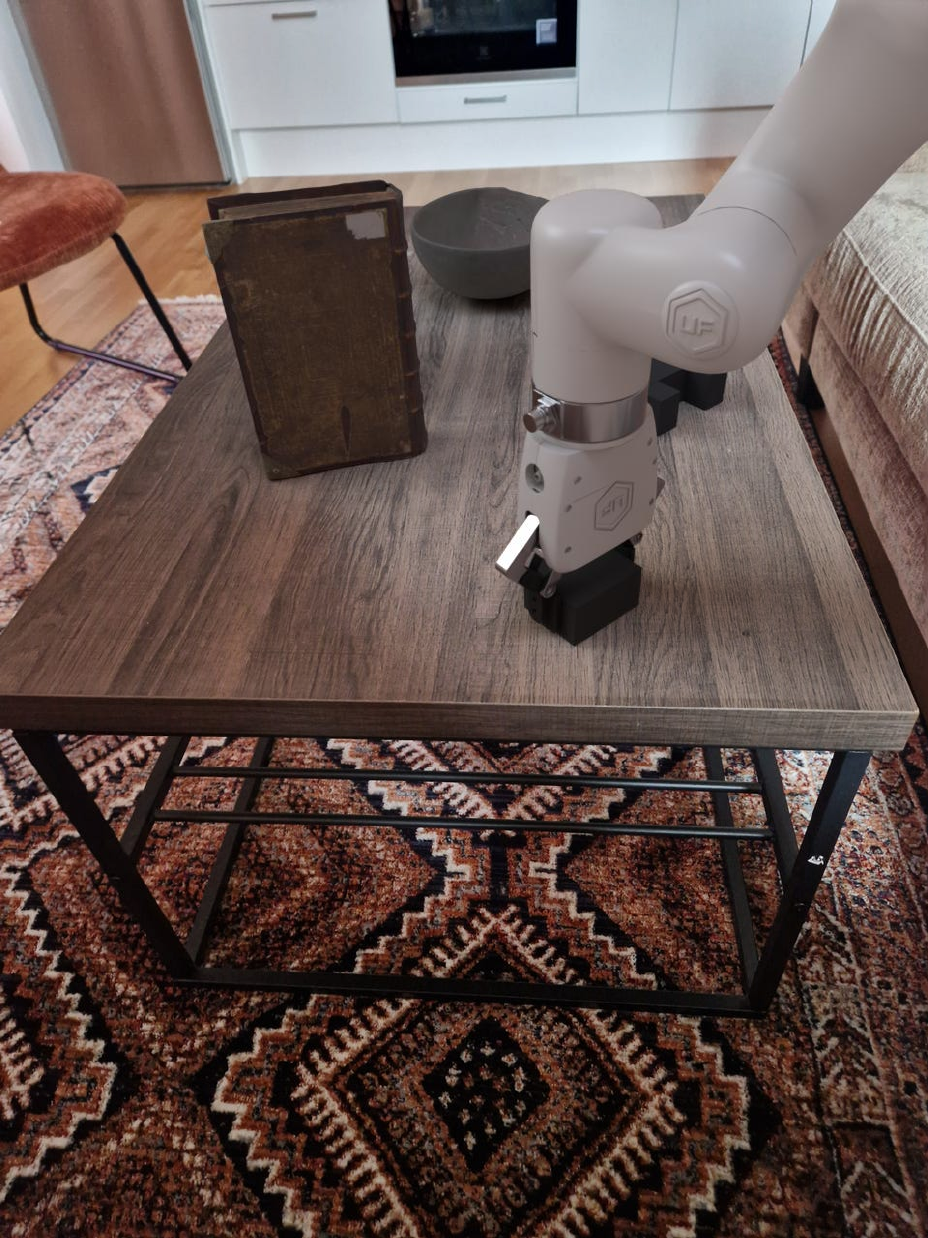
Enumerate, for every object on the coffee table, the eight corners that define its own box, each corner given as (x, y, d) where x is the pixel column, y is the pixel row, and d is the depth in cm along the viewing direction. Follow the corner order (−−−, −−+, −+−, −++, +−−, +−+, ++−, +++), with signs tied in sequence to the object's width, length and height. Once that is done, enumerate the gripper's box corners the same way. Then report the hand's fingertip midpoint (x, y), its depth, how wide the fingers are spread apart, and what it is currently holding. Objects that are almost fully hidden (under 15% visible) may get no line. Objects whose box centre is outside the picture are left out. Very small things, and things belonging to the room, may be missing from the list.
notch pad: (723, 401, 89) (728, 366, 87) (657, 436, 85) (661, 401, 83) (626, 357, 98) (629, 324, 95) (563, 387, 94) (563, 353, 91)
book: (428, 429, 89) (400, 173, 72) (432, 467, 84) (403, 200, 67) (270, 445, 89) (204, 192, 72) (264, 484, 84) (192, 221, 67)
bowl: (395, 318, 109) (385, 239, 102) (443, 257, 123) (437, 183, 116) (548, 329, 104) (548, 246, 97) (580, 264, 118) (582, 187, 111)
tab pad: (638, 605, 68) (642, 567, 65) (574, 646, 65) (575, 608, 62) (563, 553, 73) (564, 516, 70) (501, 590, 70) (499, 552, 67)
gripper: (526, 476, 50) (529, 679, 62) (722, 374, 57) (690, 575, 69) (449, 427, 54) (466, 626, 66) (640, 339, 61) (623, 533, 74)
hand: (580, 598), depth 68 cm, fingers closed on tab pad, 7 cm apart
